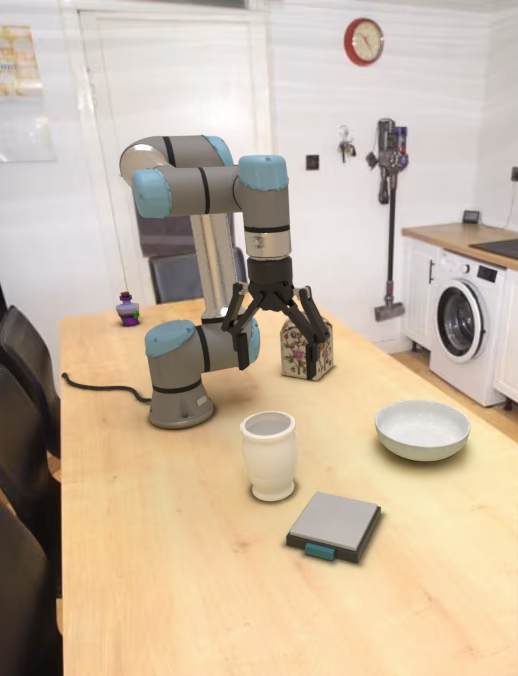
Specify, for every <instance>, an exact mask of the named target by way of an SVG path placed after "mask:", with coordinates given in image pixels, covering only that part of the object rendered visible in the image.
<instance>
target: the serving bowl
mask: <svg viewBox="0 0 518 676" xmlns="http://www.w3.org/2000/svg"><path fill="white" fill-rule="evenodd" d="M374 426H375V431H376V434H377V437H378V439H379V441H380V442H381V443H382V445H383V446H384V447H385V448H387V449H388V450H389V451H390V452H391V453H393V454H395V455H396V456H399V457H401V458H404V459H408V460H411V461H417V462H435V461H440V460H444V459H447V458H449V457H451V456H453V455H455V454H456V453H458V452H459V451H461V450H462V449H463V447H464V446H465V445H466V443H467V441H468V439H469V436H470V433H471V431H472V425H471V421H470V419H469V418H468V416H467V415H466V414H465V413H464V412H462V411H461V410H460V409H458V408H456V407H454V406H453V405H450V404H447V403H444V402H440V401H436V400H431V399H422V398H421V399H419V398H417V399H415V398H414V399H412V398H411V399H403V400H398V401H394V402H391V403H389V404H386V405H385V406H383V407H382V408H380V409H379V410H378V411H377V412H376V414H375V416H374Z"/></svg>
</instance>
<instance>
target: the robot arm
mask: <svg viewBox="0 0 518 676" xmlns="http://www.w3.org/2000/svg"><path fill="white" fill-rule="evenodd" d="M118 167H119V171H120V175H121V177H122V179H123V180H124V182H125V183H126V184H127V186H129V187H130V188H131V189H132V191H133V196H134V203H135V205H136V208H137V212H138V214H139V215H140V216H141V217H142V218H144V219H162V220H163V219H166V218H176V217H189V219H190V224H191V225H190V226H191V230H192V237H193V243H194V249H195V255H196V260H197V266H198V271H199V277H200V284H201V290H202V295H203V302H204V307H205V310H204V312H203V313H202V314H201V316H200V322H201V324H199V325H195V323H194V322H193V321H192V320H190V319H174V320H169V321H165V322H162V323H159V324H158V325H155V326H153V327H152V328H151V329H149V330H148V331H147V332H146V333H145V336H144V347H145V351H144V354H145V356H146V358H147V363H148V364H147V365H148V370H149V376H150V382H151V387H152V392H151V393H152V394H151V397H147V398H146V397H142V396H141V395H140V394H139V393H138V391H137V390H136V389H135V388H134V387H131V386H127V385H89V384H82V383H78V382H75V381H73V380H71V379H70V377H69V376H68V373H67V372H63V373H62V374H61V377H62V378H63V377H64V379H65V381H66V382H67V383H68V384H69V385H71V386H74V387H77V388H82V389H90V390H98V391H100V390H101V391H105V390H127V391H130V392H132V393H133V395H134V397H135V398H136V399H137V400H139V401H140V402H143V403H150V406H149V411H148V415H149V420H150V422H151V424H153V425H154V426H155V427H158V428H160V429H166V430H180V429H187V428H191V427H194V426H197V425H198V426H199V425H200V424H202V423H204V422H205V421H207V420H209V419H210V418H211V417H212V415H213V413H214V403H213V400H212V399H211V398H210V396H209V395H208V392H207V390H206V388H205V386H204V384H203V378H202V374H206V373H212V372H218V371H223V370H227V369H234V368H238V370H239V371H242V372H243V371H245V370H246V369H247V368H249V367H251V364H255V362H256V361H257V360H258V358H259V355H260V351H261V332H260V331H261V330H260V328H259V323H258V320H257V319H256V318H255V315H256V314H257V313H258V311H259V310H262V311H265V312H267V311H272V312H274V313H280V312H282V313H283V315H284V316H285V317H288V318H289V319H290V320H291V321H292V322H293V324H294V325H295V326H296V327H297V329H298V330H299V331H300V332H301V334H302V335H303V336H304V337H305V339H306V340H307V341H308V342H309V343H308V344H307V345H306V346H305V350H306V372H307V379H306V380H307V381H313V380H312V379H313V378H314V377H315V376H316V375H317V372H316V362H317V361H318V360H319V359H320V357H321V355H320V343H325V342H326V341H327V340H328V339H329V338H330V333H329V331H328V329H327V327H326V325H325V323H324V321H323V319H322V317H321V316H322V314H321V313H320V310H319V309H318V306H317V305H316V303H315V301H314V299H313V292H312V287H311V285H305V286H303V287H295V285H294V281H293V280H294V272H293V271H294V270H293V269H294V268H293V258H292V256H291V253H292V252H293V250H292V237H291V235H292V234H291V216H290V195H289V191H290V190H289V183H290V178H289V176H288V167H287V161H286V159H285V157H283V156H282V155H279V154H249V155H242V156H241V157H239V159H238V162H237V164H235V162H234V159H233V156H232V152H231V150H230V148H229V146H228V144H227V143H226V141H225V140H224V139H223V138H222V137H220V136H217V135H205V134H198V135H197V134H196V135H194V134H193V135H164V136H163V135H153V136H148V137H143V138H141V139H138V140H136V141H134V142H132V143H130V144H129V145H127V147H125V148H124V149H123V151H122V152H121V154H120V157H119V163H118ZM233 213H235V214H236V213H237V214H238V213H242V222H243V234H244V243H245V244H244V245H245V254H246V255H247V256H248V257H247V259H246V266H247V267H246V268H247V269H246V270H247V278H248V281H249V282H246V281H245V280H244V279H241V280H239V281H238V276H237V275H238V274H237V269H236V262H235V257H234V256H235V255H234V249H233V243H232V237H231V232H230V231H231V230H230V224H229V218H228V214H233ZM248 293H249V295H250V296H251V298H252V300H251V301H250V303H249V304H248V305H247V308H246V307H244V306H243V302H244V299H245V297H246V295H247V294H248ZM294 297H296V299H297V301H299V302H300V306H301V308H302V310H300V309H299V305H298V304H297V303H296V301H295V300H294ZM301 311H304V312H305V314H306V316H307V318H308V320H309V321H308V320H307V319H306V318H305V316H304V315H303V314H302V313H301ZM309 322H310V323H309Z"/></svg>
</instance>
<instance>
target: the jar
mask: <svg viewBox="0 0 518 676" xmlns="http://www.w3.org/2000/svg"><path fill="white" fill-rule="evenodd" d="M296 427H297V423H296V419H295V418H294V416H293V415H291V414H289V413H287V412H283V411H278V410H267V411H260V412H255V413H253V414H251V415H249V416H247V417H246V418H245V419H243V420H242V421H241V422H240V426H239V428H240V429H239V430H240V434H241V435H242V436H243V437H242V457H243V462H244V466H245V469H246V472H247V476H248V478H249V481H250V483H251V484H252V488H251V491H252V494H253V496H255V497H256V498H257V499H258V500H261V501H264V502H276V501H281V500H284V499H285V498H288V497H289V496H290V495H291V494H292V493H293V492H294V490H295V482H294V479H295V475H296V470H297V464H298V463H297V462H298V455H299V454H298V453H299V452H298V451H299V450H298V442H297V435H296V433H295V430H296Z"/></svg>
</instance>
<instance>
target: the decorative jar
mask: <svg viewBox="0 0 518 676" xmlns="http://www.w3.org/2000/svg"><path fill="white" fill-rule="evenodd" d="M300 311H301V313H302V314H303V315H304V316H305V318H306V319H307V320H308V318H307V316H306V314H305V312H304V310H300ZM321 317H322V319H323V321H324V323H325V325H326V327H327V329H328V331H329V333H330V338H329V339H328V340H327V341H326V342H325V343H320V355H321V357H320V359H319V360H318V361H317V362H316V372H317V375H316V376H315V377H314V378H313V379H312V380H311V381H316V382H318V381H319V380H320V379H321V378H322V377H323V376H325V374H326V373H328V372H329V370H331V369H332V368H333V367H334V333H333V331H334V328H333V324H332V323H331V322H330V321H329V320H328V319H327V318H326V317H324V316H323V315H321ZM308 321H309V320H308ZM309 323H310V322H309ZM279 340H280V341H279V345H280V361H281V372H282V376H287V377H291V378H297V379H302V380H303V379H304V380H307V372H306V350H305V346H306V345H307V344H308V343H309V342H308V341H307V340H306V339H305V337H304V336H303V335H302V334H301V332H300V331H299V330H298V329H297V327H296V326H295V325H294V324H293V322H292V321H291V320H290V319H289V317H288V318H287V319H285V320H284V323H283V324H282V326H281V329H280V331H279Z"/></svg>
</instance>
